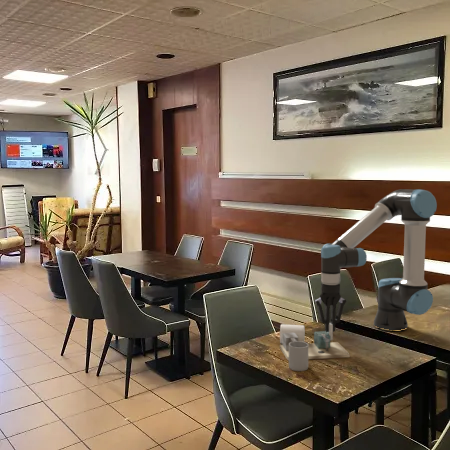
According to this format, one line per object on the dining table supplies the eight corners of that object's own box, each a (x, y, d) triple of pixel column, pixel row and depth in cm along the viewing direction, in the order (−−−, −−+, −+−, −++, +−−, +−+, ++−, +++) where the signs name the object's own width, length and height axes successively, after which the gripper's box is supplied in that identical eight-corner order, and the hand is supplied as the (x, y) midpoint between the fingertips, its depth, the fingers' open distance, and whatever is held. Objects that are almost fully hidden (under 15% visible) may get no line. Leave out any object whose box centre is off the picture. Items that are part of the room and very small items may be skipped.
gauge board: (337, 344, 205) (338, 329, 205) (349, 357, 191) (350, 340, 191) (279, 347, 202) (279, 332, 202) (287, 360, 189) (287, 344, 188)
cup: (295, 372, 177) (295, 349, 176) (281, 363, 186) (281, 340, 185) (312, 369, 180) (312, 346, 179) (297, 360, 189) (297, 337, 188)
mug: (303, 347, 203) (304, 328, 202) (279, 346, 205) (279, 327, 204) (304, 338, 215) (305, 320, 214) (282, 336, 217) (282, 319, 216)
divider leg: (325, 342, 203) (325, 331, 203) (333, 351, 194) (333, 339, 193) (314, 343, 203) (314, 331, 202) (321, 351, 193) (321, 339, 192)
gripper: (342, 280, 202) (341, 335, 205) (312, 281, 201) (311, 337, 203) (349, 284, 195) (348, 341, 197) (317, 285, 193) (317, 343, 196)
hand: (329, 339), depth 200 cm, fingers closed
